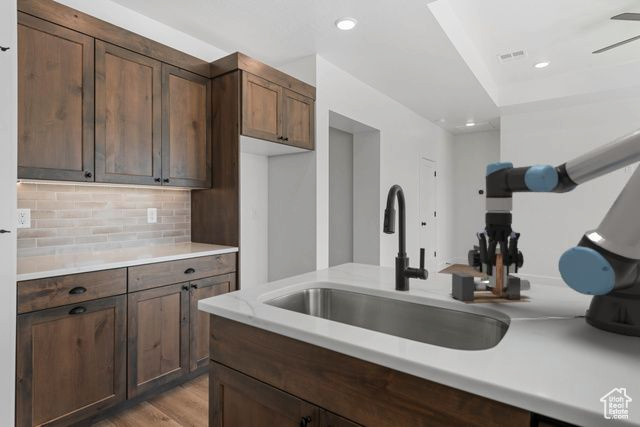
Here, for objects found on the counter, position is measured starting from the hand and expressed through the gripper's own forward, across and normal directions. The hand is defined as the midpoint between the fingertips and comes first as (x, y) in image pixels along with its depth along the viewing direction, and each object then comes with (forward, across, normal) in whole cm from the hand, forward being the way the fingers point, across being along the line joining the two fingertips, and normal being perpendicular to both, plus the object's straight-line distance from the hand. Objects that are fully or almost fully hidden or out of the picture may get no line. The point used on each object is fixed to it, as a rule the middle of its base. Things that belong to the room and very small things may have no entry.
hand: (497, 285), depth 110 cm
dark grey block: (+6, +8, -7) cm, 12 cm away
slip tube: (+4, -5, -4) cm, 7 cm away
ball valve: (+7, -13, -23) cm, 27 cm away
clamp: (+6, -8, -7) cm, 12 cm away
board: (+7, -1, -7) cm, 10 cm away
